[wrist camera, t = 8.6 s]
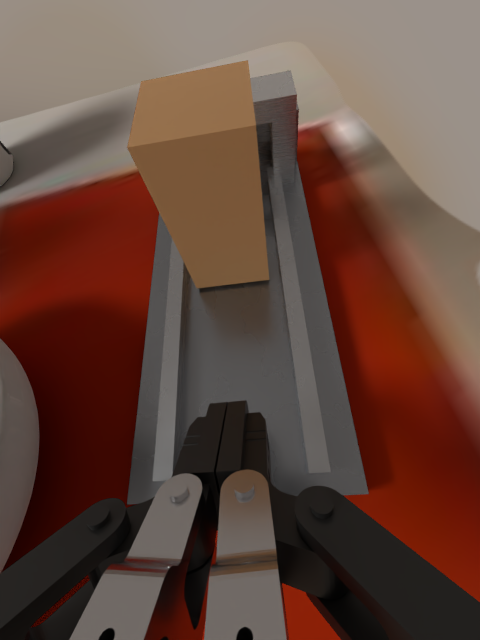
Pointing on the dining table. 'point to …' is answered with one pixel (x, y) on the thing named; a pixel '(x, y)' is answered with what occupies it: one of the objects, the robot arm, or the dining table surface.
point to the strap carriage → (204, 170)
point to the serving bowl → (15, 448)
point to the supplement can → (5, 164)
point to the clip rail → (251, 338)
